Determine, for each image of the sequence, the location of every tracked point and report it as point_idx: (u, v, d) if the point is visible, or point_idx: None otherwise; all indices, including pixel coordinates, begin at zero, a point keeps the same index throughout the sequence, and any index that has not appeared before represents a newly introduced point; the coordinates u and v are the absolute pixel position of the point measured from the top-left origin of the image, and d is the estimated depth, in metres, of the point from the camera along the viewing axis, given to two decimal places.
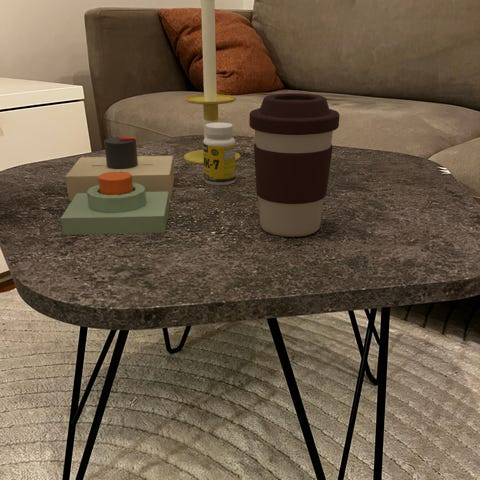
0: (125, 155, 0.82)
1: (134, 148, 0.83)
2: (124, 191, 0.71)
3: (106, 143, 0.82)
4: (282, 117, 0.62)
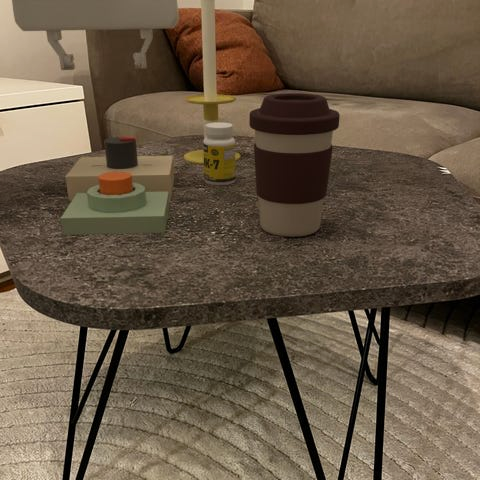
0: (125, 155, 0.82)
1: (134, 148, 0.83)
2: (124, 191, 0.71)
3: (106, 143, 0.82)
4: (282, 117, 0.62)
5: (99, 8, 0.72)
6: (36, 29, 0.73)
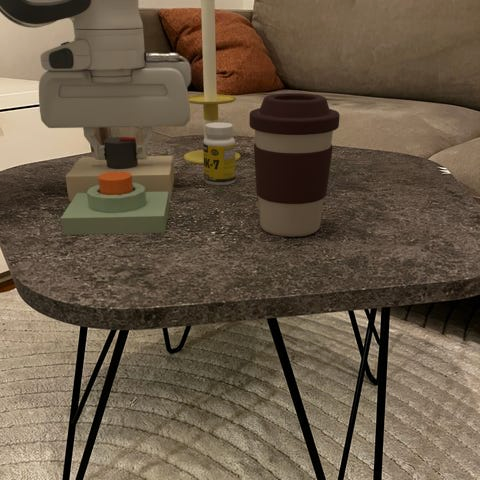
0: (125, 155, 0.82)
1: (134, 148, 0.83)
2: (124, 191, 0.71)
3: (106, 143, 0.82)
4: (282, 117, 0.62)
5: (118, 109, 0.79)
6: (60, 126, 0.80)
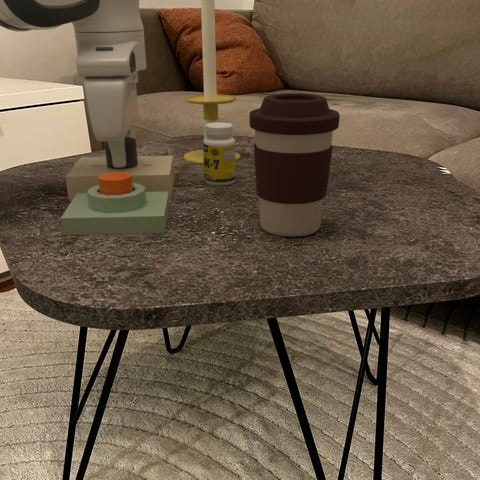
0: None
1: None
2: (124, 191, 0.71)
3: (128, 143, 0.82)
4: (282, 117, 0.62)
5: (131, 108, 0.82)
6: (124, 136, 0.76)
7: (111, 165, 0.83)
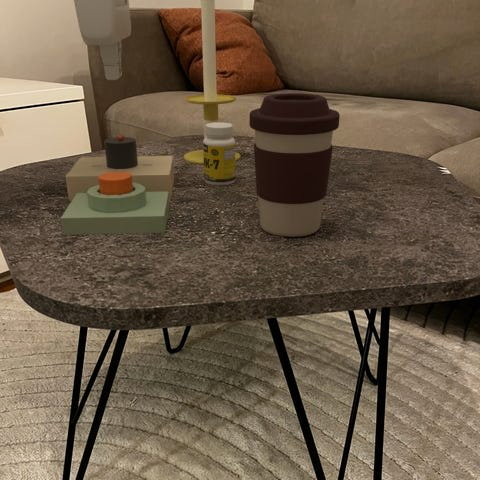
0: None
1: None
2: (124, 191, 0.71)
3: (128, 143, 0.82)
4: (282, 117, 0.62)
5: (122, 19, 0.76)
6: (115, 42, 0.70)
7: (111, 165, 0.83)
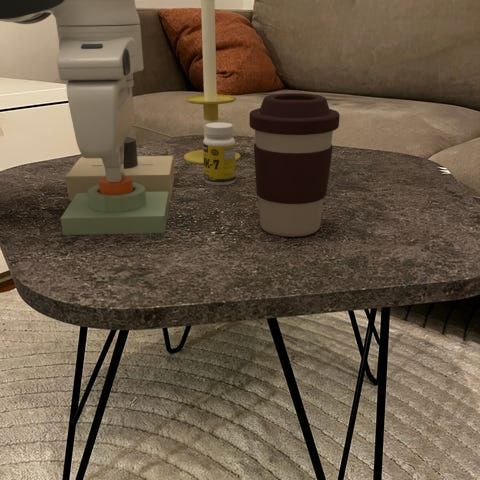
0: None
1: None
2: None
3: (128, 143, 0.82)
4: (282, 117, 0.62)
5: (125, 117, 0.69)
6: (117, 152, 0.63)
7: None
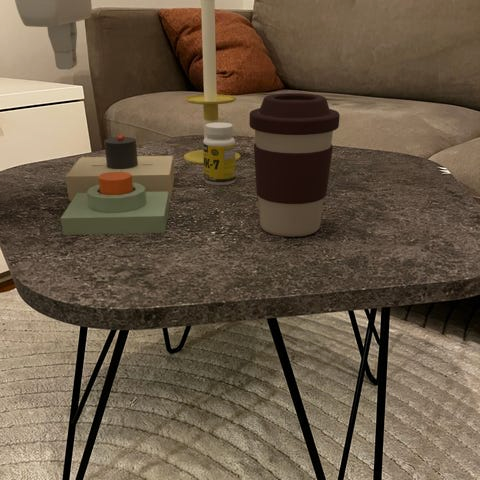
0: None
1: None
2: (124, 191, 0.71)
3: (128, 143, 0.82)
4: (282, 117, 0.62)
5: None
6: (62, 23, 0.58)
7: (111, 165, 0.83)
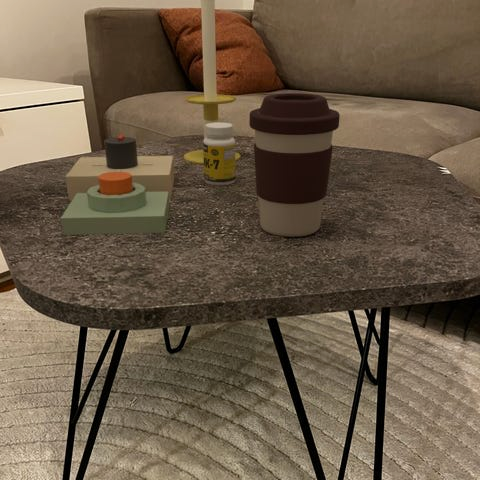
0: None
1: None
2: (124, 191, 0.71)
3: (128, 143, 0.82)
4: (282, 117, 0.62)
5: None
6: None
7: (111, 165, 0.83)
